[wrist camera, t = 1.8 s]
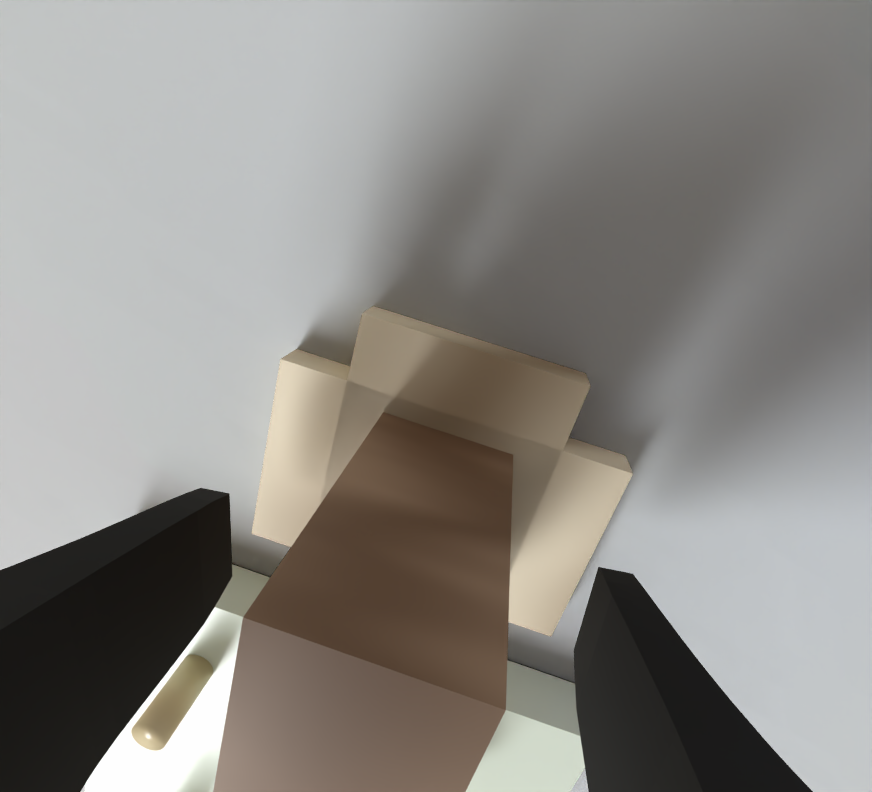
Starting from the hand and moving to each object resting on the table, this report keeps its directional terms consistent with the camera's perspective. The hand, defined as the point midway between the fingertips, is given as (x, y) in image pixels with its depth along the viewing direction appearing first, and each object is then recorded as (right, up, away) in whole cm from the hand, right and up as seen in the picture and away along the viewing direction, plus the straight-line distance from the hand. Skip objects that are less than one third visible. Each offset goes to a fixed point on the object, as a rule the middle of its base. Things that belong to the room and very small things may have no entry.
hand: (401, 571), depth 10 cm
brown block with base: (+1, +1, +3) cm, 3 cm away
